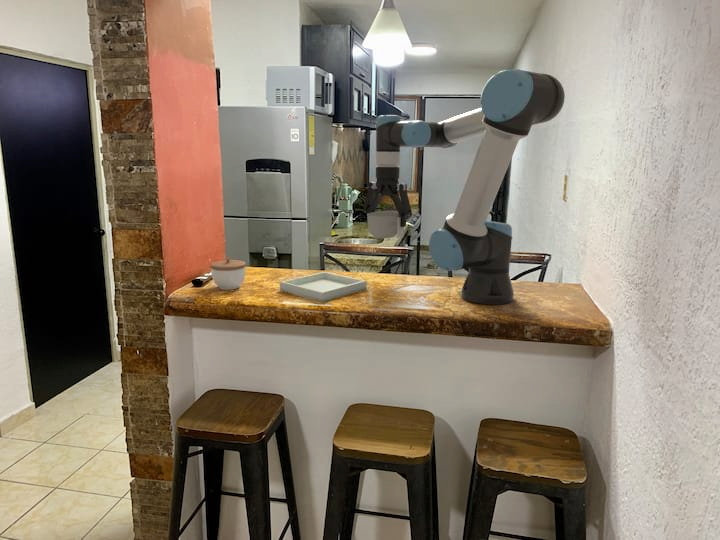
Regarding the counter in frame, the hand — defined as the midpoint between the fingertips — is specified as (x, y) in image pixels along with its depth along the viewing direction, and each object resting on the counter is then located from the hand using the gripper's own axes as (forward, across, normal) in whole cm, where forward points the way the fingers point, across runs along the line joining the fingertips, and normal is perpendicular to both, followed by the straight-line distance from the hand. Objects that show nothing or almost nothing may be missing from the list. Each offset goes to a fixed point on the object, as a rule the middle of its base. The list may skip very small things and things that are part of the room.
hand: (386, 235), depth 174 cm
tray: (+16, +8, +21) cm, 27 cm away
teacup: (+1, +1, 0) cm, 1 cm away
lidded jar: (+16, +32, +39) cm, 53 cm away
